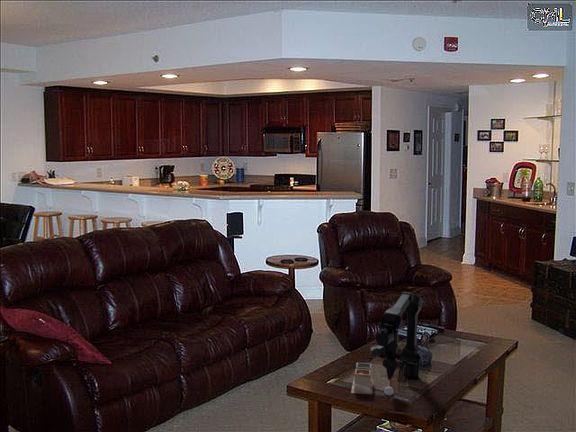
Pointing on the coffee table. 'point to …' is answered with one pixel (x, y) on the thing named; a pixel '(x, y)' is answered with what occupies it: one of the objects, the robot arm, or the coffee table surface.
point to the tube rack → (362, 379)
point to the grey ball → (388, 390)
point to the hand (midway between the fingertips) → (389, 375)
